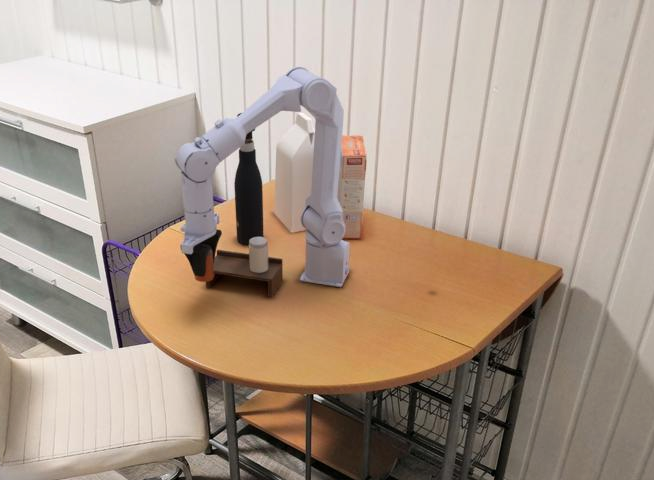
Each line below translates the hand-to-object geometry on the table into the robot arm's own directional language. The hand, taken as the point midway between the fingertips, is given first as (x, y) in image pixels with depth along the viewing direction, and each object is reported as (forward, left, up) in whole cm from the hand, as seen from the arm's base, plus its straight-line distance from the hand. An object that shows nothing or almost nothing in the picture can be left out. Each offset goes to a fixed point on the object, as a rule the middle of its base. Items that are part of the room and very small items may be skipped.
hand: (204, 269), depth 150 cm
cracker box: (-20, -44, -8) cm, 49 cm away
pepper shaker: (0, 0, -2) cm, 2 cm away
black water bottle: (+1, -30, -8) cm, 31 cm away
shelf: (-5, -10, -8) cm, 13 cm away
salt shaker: (-8, -10, -3) cm, 13 cm away
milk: (-8, -45, -8) cm, 47 cm away
